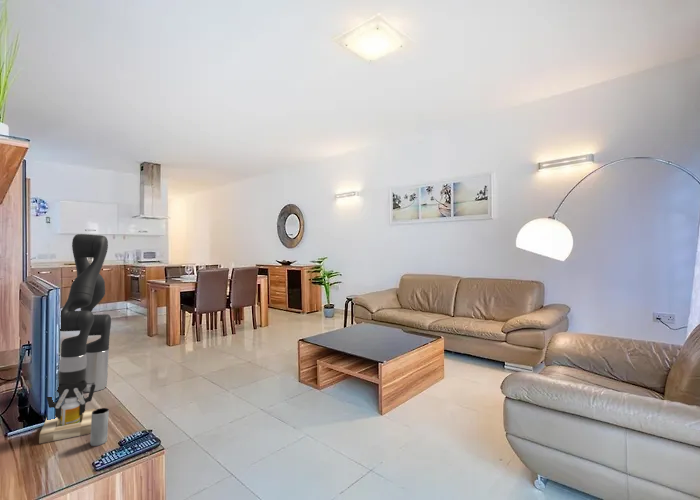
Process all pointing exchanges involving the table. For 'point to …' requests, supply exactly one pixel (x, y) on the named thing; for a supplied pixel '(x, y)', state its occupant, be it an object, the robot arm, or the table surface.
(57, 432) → the holder
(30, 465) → the table surface
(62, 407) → the supplement bottle
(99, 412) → the planter
